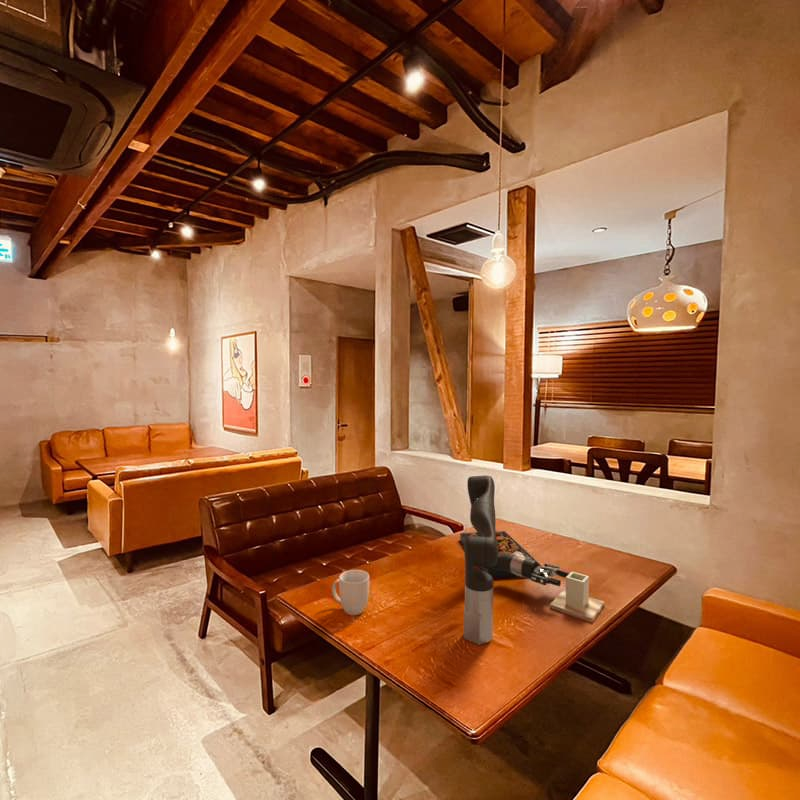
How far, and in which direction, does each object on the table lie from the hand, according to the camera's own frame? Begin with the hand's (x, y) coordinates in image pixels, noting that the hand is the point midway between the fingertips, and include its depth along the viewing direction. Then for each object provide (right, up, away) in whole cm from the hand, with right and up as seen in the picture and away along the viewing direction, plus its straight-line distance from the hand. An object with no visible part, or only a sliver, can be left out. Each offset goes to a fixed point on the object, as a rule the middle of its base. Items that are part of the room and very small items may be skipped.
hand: (564, 579), depth 165 cm
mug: (-80, -10, -5) cm, 81 cm away
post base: (+4, -9, -3) cm, 10 cm away
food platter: (-16, -8, +44) cm, 47 cm away
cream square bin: (+4, -8, -3) cm, 9 cm away
